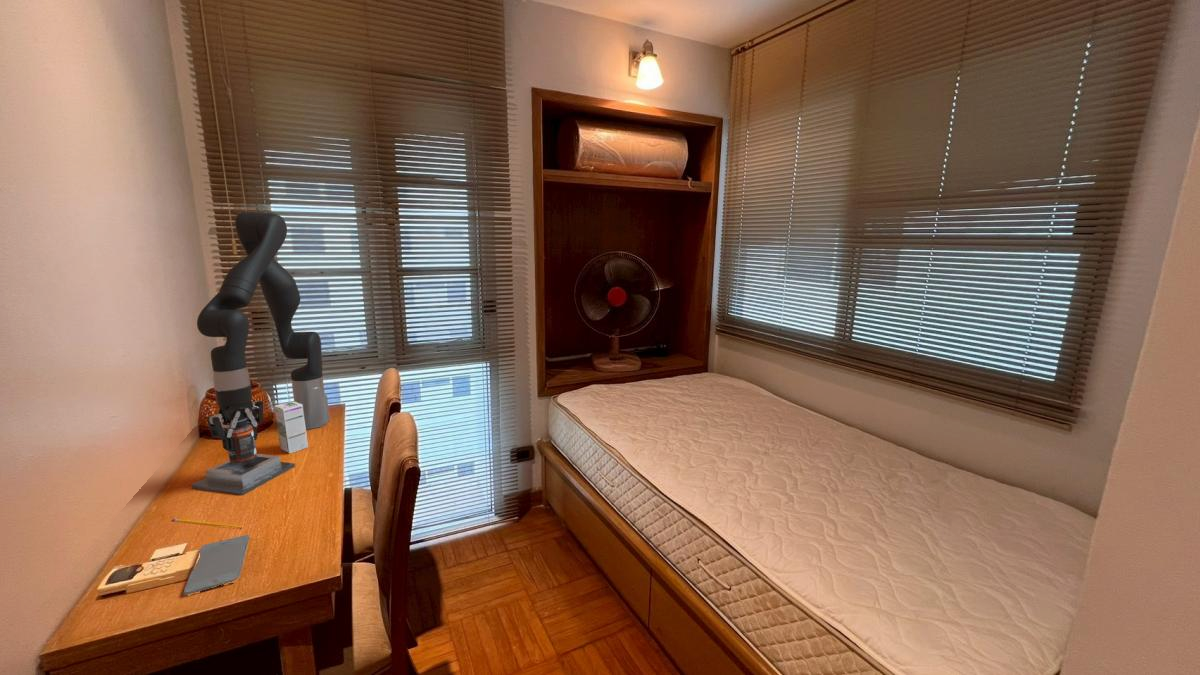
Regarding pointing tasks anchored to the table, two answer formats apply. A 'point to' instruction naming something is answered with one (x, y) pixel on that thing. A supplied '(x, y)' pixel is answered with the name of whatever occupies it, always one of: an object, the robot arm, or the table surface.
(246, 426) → the supplement bottle
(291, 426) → the syrup box
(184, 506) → the table surface
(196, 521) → the pencil
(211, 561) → the phone
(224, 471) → the socket
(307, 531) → the table surface
